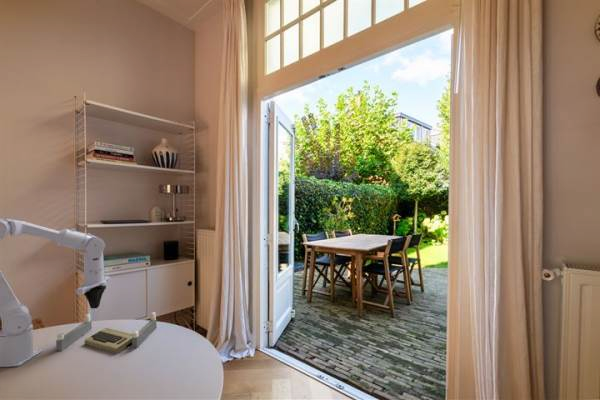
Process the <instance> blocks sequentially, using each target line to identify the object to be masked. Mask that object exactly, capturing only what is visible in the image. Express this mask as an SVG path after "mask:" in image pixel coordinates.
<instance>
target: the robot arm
mask: <svg viewBox="0 0 600 400" xmlns="http://www.w3.org/2000/svg"><path fill="white" fill-rule="evenodd" d="M8 235H10V236H11V237H14V236H20V235H26V236H27V235H28V236H32V237H33V236H34V237H37V238H43V239H47V240H52V241H55V243H56V245H57V246H59V247H64V248H69V249H73V250H77V251H81V250H83V284H82V285H81V286H80V287H78V288H76V295H77V296H78V295H79V296H80V295H81V296H82V295H84V296H85V299H87V301H88V304H89V307H90V309H98V308H99V307H100V304H101V300H102V298H103V295H104V292H105V290H106V289H107V285H106V284H108V282H110V280H111V278H110V277H111V276H110V275H104V274H105V271H104V270H105V269H104V267H105V266H104V265H105V263H104V250H105V248H106V243H105V241H104V240H103V239H102V238H101V237H98V236H95V235H94V234H91V232H90V233H89V232H87V233H84V232H81V231H77V230H76V228H70V229H69V228H65V229H61V230H56V229H53V228H49V227H46V226H41V225H38V224H35V223H32V222H28V221H24V220H18V219H13V218H12V219H11V218H6V219H4V217H3V218H2V217H0V241H2V240H3V239H4V238H6V237H7V236H8ZM0 321H1V330H0V368H1V367H2V368H6V367H7V368H8V367H20V366H22V365H23V364H25V363H26V362H28V361H29V360H31V359H32V358H34V357H35V356H37V355H39V354H40V353H42V349H35V350H34V326H33V324H32V323H33V318H32V316H31V314H30V310H29V308H28V307H27V306H26V305H24V304H22V303H21V302H20V301H19V299H18V298H17V296H16V295H15V293H14V291H13V289H12V288H11V286H10V285H9V283H8V281H7V279H6V277H5V276H4V274H3V272H2V270H1V269H0Z"/></svg>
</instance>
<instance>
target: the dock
mask: <svg viewBox="0 0 600 400" xmlns="http://www.w3.org/2000/svg"><path fill="white" fill-rule="evenodd" d="M156 315H157V314H156V312H155V311H153V312H152V311H151V312H150V320H149V321H148V322H147V323H146V324H145V325H144V326H143V327H142V328H141V329H140V330H139V331H138V330H134V331H132V334H133V337H132V346H131V349H138V348H139V347H140V346H141V345H142V344H143V343H144V342H145V341H146V340H147V339H148V337H149V336H150V335H151V334H152V333H154V331H156V329H157V328H158V327H157V318H156V317H157V316H156ZM91 329H92V320H91V314H90V313H87V314H84V321H83V322H82V323H81V324H80V325H78V326H77V327H74V328H73V329H72V330H70V331H68V332H67V333H66V334H65V333H62V332H61V333H58V334H57V340H55V341H56V352H62V351H64V350H66V349H67V348H68V347H70V346H71V345H73V342H74V343H75V342H76V340H77V339H78V338H79V339H81V338H82V337H83V336H82V335H84V334H85V333H86V332H88V331H89V330H91ZM91 331H92V330H91ZM89 332H90V331H89ZM89 332H88V333H89ZM86 334H87V333H86ZM86 334H85V335H86ZM85 335H84V336H85ZM81 336H82V337H81ZM80 337H81V338H80ZM79 339H78V340H79ZM78 340H77V341H78ZM69 345H70V346H69Z"/></svg>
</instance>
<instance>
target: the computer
mask: <svg viewBox="0 0 600 400" xmlns="http://www.w3.org/2000/svg"><path fill="white" fill-rule="evenodd" d="M132 337H133V333H130V332H126V331H122V330H118V329H114V328H109V327H105V328H103V329H101V330H99V331H97V332H96V333H94V334H91V336H89V337H87V338H85V340H84V345H85V344H87V345H86V346H88V345H90V346H89V347H92V346H93V347H92V348H95V347H97V348H96V349H98V348H101V349H100V350H102V349H104V350H103V351H105V350H107V351H106V352H109V351H110V352H109V353H112V352H113V354H117V355H118V354H119V353H121V352H123V351H125V350H127V349H128V347H129V348H131V347H132ZM130 346H131V347H130Z"/></svg>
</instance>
